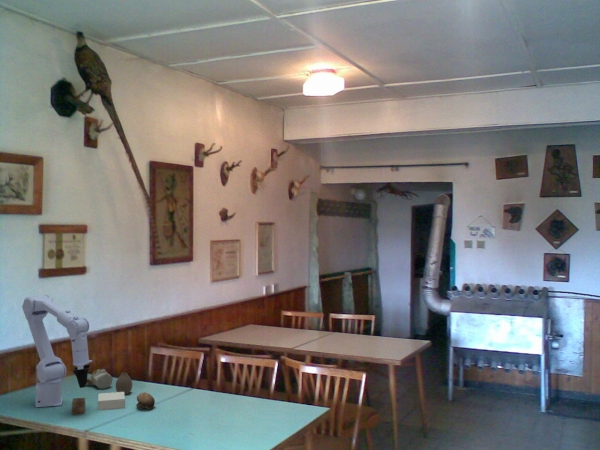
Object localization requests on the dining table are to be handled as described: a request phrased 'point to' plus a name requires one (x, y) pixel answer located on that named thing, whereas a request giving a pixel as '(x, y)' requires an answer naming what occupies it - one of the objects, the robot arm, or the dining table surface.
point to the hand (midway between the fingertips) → (83, 385)
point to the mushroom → (145, 401)
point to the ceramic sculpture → (100, 379)
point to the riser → (111, 400)
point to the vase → (124, 384)
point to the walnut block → (78, 406)
